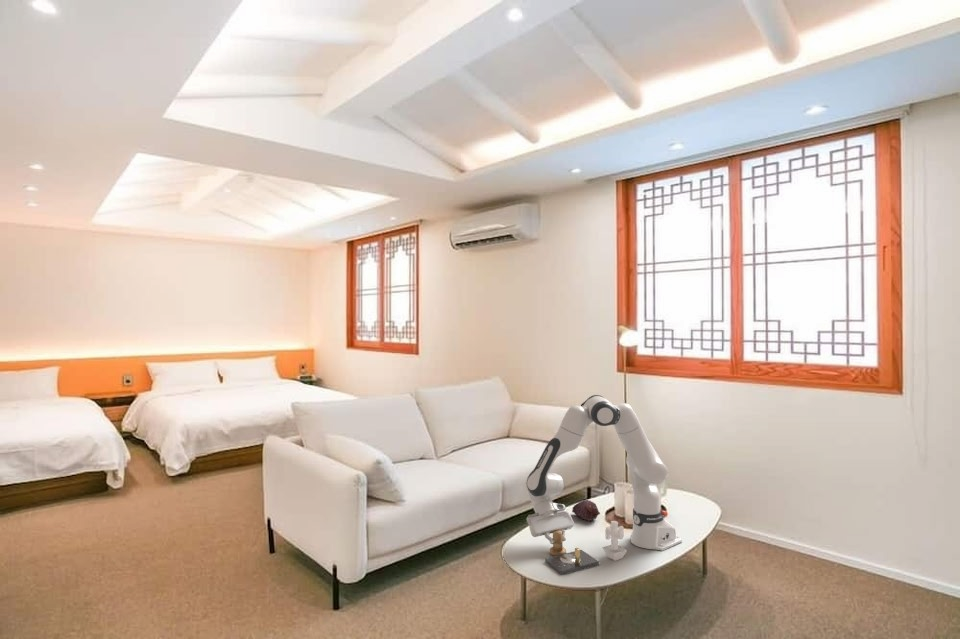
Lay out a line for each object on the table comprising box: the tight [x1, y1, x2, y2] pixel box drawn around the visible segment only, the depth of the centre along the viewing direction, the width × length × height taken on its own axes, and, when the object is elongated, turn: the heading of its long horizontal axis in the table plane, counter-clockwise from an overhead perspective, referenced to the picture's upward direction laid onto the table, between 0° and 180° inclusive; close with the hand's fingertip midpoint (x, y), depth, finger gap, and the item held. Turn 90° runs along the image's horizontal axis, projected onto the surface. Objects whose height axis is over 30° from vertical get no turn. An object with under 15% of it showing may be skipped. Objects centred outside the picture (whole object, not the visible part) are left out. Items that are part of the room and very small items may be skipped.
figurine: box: [602, 520, 628, 562], centre depth 220 cm, size 7×9×15 cm
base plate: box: [544, 549, 600, 576], centre depth 215 cm, size 18×12×2 cm, turn 115°
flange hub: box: [549, 530, 567, 556], centre depth 225 cm, size 7×7×8 cm
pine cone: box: [571, 499, 601, 522], centre depth 262 cm, size 18×10×10 cm
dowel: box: [574, 547, 581, 565], centre depth 212 cm, size 2×2×6 cm
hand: (558, 542), depth 224 cm, fingers closed on flange hub, 4 cm apart
